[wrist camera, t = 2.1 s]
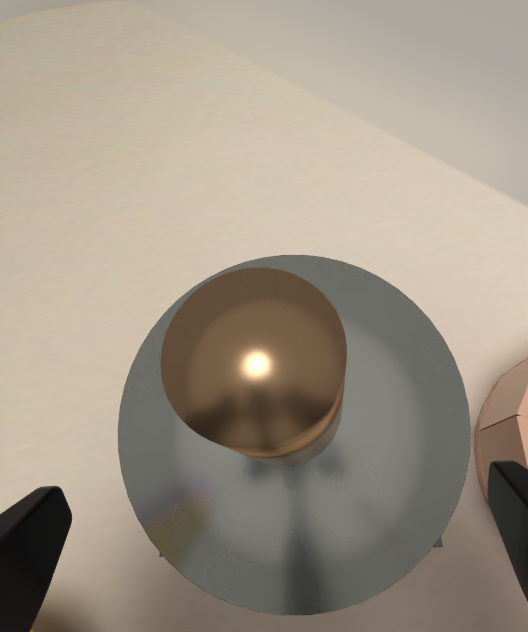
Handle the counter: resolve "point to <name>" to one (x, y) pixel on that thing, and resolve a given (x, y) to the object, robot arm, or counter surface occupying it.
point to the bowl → (503, 423)
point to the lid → (294, 435)
